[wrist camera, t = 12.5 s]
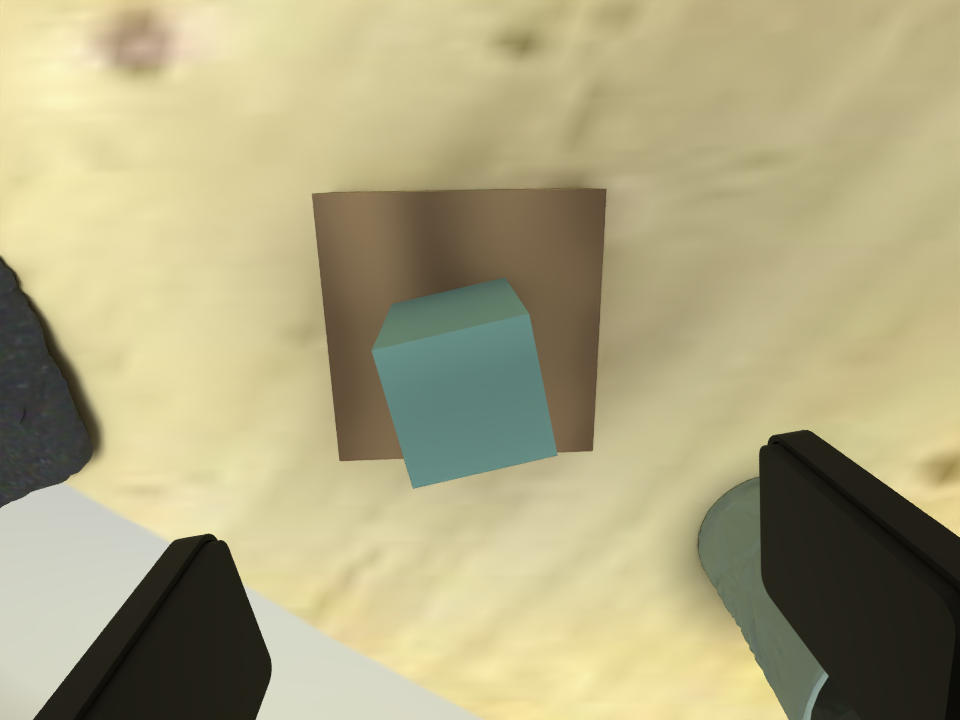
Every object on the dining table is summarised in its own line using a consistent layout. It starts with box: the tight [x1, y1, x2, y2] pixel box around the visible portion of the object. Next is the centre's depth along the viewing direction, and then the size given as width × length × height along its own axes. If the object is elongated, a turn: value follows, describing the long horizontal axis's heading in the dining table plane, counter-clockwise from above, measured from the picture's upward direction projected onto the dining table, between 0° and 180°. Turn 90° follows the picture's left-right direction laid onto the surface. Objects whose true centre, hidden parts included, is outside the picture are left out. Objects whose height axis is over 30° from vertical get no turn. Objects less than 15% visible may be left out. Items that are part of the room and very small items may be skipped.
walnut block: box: [312, 188, 606, 461], centre depth 27 cm, size 12×12×5 cm
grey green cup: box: [698, 477, 861, 720], centre depth 28 cm, size 10×10×12 cm
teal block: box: [372, 278, 557, 489], centre depth 21 cm, size 5×5×7 cm
